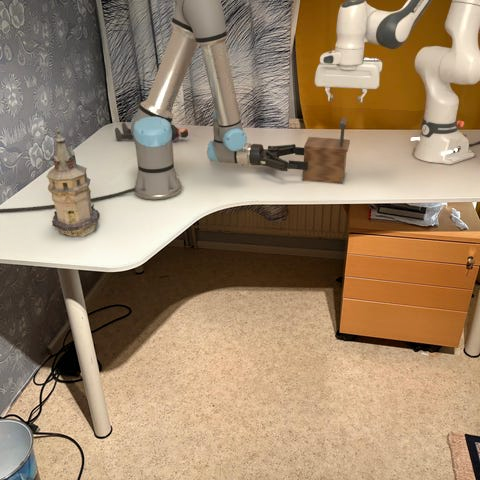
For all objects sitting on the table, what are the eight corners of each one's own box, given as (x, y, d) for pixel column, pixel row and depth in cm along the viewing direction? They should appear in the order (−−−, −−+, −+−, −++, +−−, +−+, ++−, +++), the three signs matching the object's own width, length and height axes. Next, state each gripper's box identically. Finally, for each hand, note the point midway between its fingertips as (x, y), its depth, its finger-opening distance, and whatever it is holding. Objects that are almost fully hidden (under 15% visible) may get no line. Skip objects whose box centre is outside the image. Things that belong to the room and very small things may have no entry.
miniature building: (80, 214, 164) (63, 117, 149) (111, 225, 157) (96, 125, 142) (44, 231, 154) (22, 130, 140) (75, 244, 147) (55, 139, 133)
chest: (344, 173, 189) (347, 142, 184) (342, 183, 181) (345, 152, 176) (306, 170, 193) (308, 139, 187) (302, 180, 184) (304, 149, 179)
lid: (349, 142, 184) (352, 116, 179) (347, 152, 176) (349, 125, 171) (308, 139, 187) (309, 114, 182) (304, 148, 179) (305, 122, 174)
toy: (130, 116, 235) (195, 116, 229) (132, 130, 238) (197, 130, 232) (105, 135, 213) (177, 135, 207) (108, 150, 216) (179, 151, 210)
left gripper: (258, 152, 202) (314, 156, 198) (242, 177, 181) (304, 183, 177) (258, 133, 199) (315, 137, 194) (242, 156, 178) (305, 161, 173)
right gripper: (383, 56, 166) (378, 100, 173) (317, 53, 171) (315, 97, 178) (383, 60, 161) (377, 105, 168) (315, 57, 165) (312, 102, 172)
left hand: (310, 158), depth 185 cm, fingers open, 13 cm apart
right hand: (345, 101), depth 173 cm, fingers open, 8 cm apart
